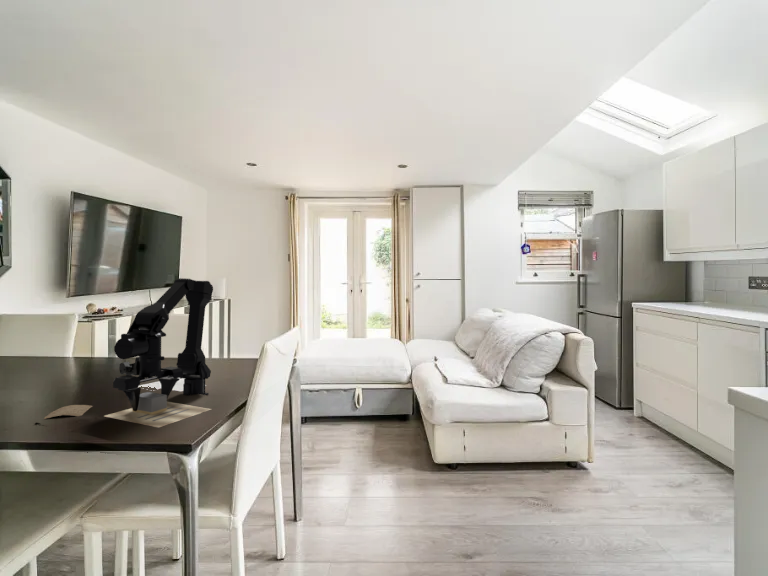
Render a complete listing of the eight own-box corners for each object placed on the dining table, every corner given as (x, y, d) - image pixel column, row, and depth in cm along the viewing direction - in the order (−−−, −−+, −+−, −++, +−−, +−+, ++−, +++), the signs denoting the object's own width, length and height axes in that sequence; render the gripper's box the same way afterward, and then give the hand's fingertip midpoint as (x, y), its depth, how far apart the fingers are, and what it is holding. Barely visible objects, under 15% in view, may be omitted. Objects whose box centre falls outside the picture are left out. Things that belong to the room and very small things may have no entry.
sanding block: (147, 406, 129) (148, 391, 129) (166, 410, 126) (166, 394, 126) (132, 411, 124) (132, 395, 124) (151, 414, 121) (151, 398, 121)
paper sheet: (210, 388, 158) (210, 386, 158) (121, 407, 137) (121, 404, 137) (184, 378, 174) (184, 375, 174) (101, 393, 153) (100, 390, 153)
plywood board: (159, 404, 136) (159, 400, 136) (211, 413, 127) (212, 409, 127) (103, 420, 120) (103, 415, 120) (158, 432, 111) (158, 427, 111)
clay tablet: (102, 411, 130) (102, 402, 130) (93, 421, 120) (93, 411, 120) (44, 416, 125) (44, 406, 125) (30, 427, 115) (30, 417, 115)
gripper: (158, 347, 137) (158, 396, 137) (100, 356, 120) (99, 411, 120) (184, 349, 132) (183, 400, 132) (127, 359, 115) (126, 417, 115)
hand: (149, 406), depth 125 cm, fingers open, 9 cm apart
